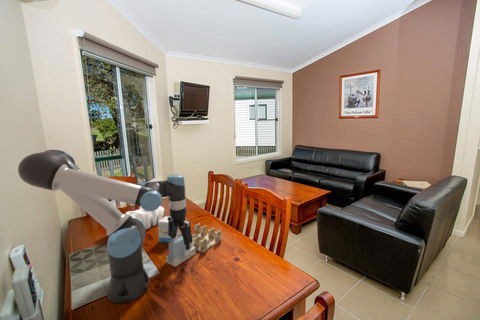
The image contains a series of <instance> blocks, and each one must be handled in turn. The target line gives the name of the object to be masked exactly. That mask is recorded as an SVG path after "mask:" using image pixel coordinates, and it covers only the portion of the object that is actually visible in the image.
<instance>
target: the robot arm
mask: <svg viewBox="0 0 480 320" xmlns="http://www.w3.org/2000/svg"><path fill="white" fill-rule="evenodd" d="M17 172H18V175H19V177H20V179H21V180H22V181H23V182H24V183H26V184H28V185H30V186H33V187H36V188H40V189H44V190H48V191H53V192H57V191H58V190H59V191H61V192H63V193H64V195H65V194H66V196H67V197H69V198H70V199H71V200H72V201H73V202H74V203H75V204H76V205H78V206H79V207H80V208H81V209H82V210H84V211H85V212H86V213H87V214H88V215H89V216H90V217H92V218H93V219H94V220H95V221H96V222H97V223H98V224H100V225H101V226H103V228H104V229H106V236H107V237H108V239H107V242H106V243H107V244H106V249H107V250H106V251H107V256H108V265H109V271H110V272H109V273H110V279H109V282H108V287H107V297H108V300H109V301H110V302H112V303H115V304H122V303H128V302H131V301H134V300H137V299H138V298H140V297H141V296H142V295H144V294H145V293H146V292H147V291H148V286H149V285H150V276H149V275H148V273H147V271H146V269H145V268H144V261H143V260H144V259H143V245H144V240H145V238H146V234H147V233H146V231H147V230H145V226H144V224H143V222H142V221H141V220H139V219H137V218H132V217H131V216H130V215H129V214H125V213H122V212H121V211H120V210H119V209H118V207H116V206H115V205H114V204H113V203H112V202H110V201H109V200H111V201H117V202H121V203H125V204H128V205H129V204H131V205H134V206H139V207H140V206H141V207H142V208H143V209H144V210H146V211H154V210H156V209H157V208H158V207H159V206H161V204H162V202H163V198H167V197H168V204H169V205H168V206H169V207H168V208H169V216H170V217H168V236H171V238H172V241H173V240H175V239H177V238H178V237H175V236H177V235H176V234H177V230H178V227H179V232H180V233H181V234H182V237H183V240H184V244H183V248H184V257H186V256H188V255H189V254H190V253H189V249H190V244H189V243H191V242H193V240H192V235H193V233H192V228H191V227H192V226H191V221H187V219H186V215H187V214H188V213H187V202H186V201H187V200H186V199H187V198H186V183H185V177H184V176H183V174H178V173H177V174H169V175H168V176H167V178H166V180H158V181H146V182H141V183H139V185H138V184H135V183H131V182H126V181H123V180H119V179H115V178H110V177H106V176H102V175H99V174H93V173H90V172H86V171H82V169H80V167H79V166H78V165H77V164H76V161H75V159H74V157H73V156H72V155H71V154H70V153H69V152H67V151H65V150H62V149H61V150H60V149H47V150H45V151H44V150H43V151H41V152H36V153H31V154H29V155H27V156H25V157H24V158H22V160H21V161H20V162H19V164H18V167H17ZM191 233H192V234H191ZM186 240H187V241H186Z"/></svg>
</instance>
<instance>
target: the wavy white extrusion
mask: <svg viewBox="0 0 480 320" xmlns="http://www.w3.org/2000/svg"><path fill="white" fill-rule="evenodd" d="M164 212H165V208H164V207H163V206H161V205H160V206H159V207H158V208H157V209H156V210H154V211H146V210H144V209H143V208H142V207H141V206H139V208H138V209H136V210H131V211H130V210H129V211H126V212H125V213H124V214H129V215H130V216H131V217H132V218H137V219H139V220H141V221H142V222H143V224H144V226H145V231H147V229H150V228H152V227H154V226H156V225H158V221H160V220H161V219H162V218H164V217H163V216H164Z"/></svg>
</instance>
